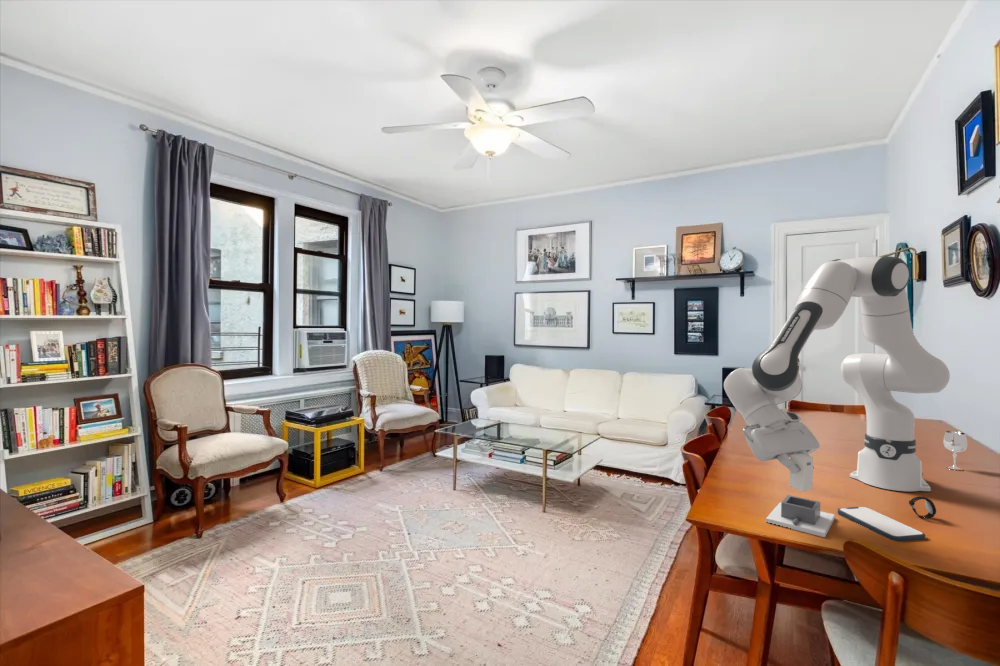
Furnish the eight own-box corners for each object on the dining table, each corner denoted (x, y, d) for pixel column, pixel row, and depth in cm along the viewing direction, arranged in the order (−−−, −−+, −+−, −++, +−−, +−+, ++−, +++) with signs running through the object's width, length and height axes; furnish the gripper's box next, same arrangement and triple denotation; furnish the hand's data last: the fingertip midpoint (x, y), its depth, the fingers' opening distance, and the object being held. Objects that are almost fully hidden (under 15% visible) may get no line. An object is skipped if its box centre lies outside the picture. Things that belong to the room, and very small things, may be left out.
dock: (779, 505, 127) (780, 488, 127) (834, 518, 119) (835, 500, 119) (765, 522, 117) (766, 504, 117) (824, 537, 109) (825, 517, 108)
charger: (798, 485, 120) (799, 453, 120) (812, 489, 117) (813, 457, 116) (789, 486, 118) (790, 454, 118) (803, 491, 115) (804, 458, 115)
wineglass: (965, 472, 154) (966, 435, 154) (941, 468, 158) (942, 432, 158) (967, 469, 158) (968, 432, 157) (943, 465, 162) (944, 429, 162)
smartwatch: (936, 522, 117) (936, 502, 117) (908, 516, 120) (908, 496, 120) (935, 517, 120) (936, 497, 120) (908, 511, 123) (909, 492, 123)
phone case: (928, 541, 108) (864, 511, 124) (929, 534, 108) (865, 505, 124) (894, 544, 107) (834, 514, 122) (895, 537, 107) (834, 508, 122)
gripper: (747, 419, 119) (784, 469, 111) (802, 413, 127) (839, 459, 119) (732, 433, 123) (766, 483, 115) (785, 426, 132) (821, 472, 123)
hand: (804, 471), depth 117 cm, fingers closed on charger, 3 cm apart
